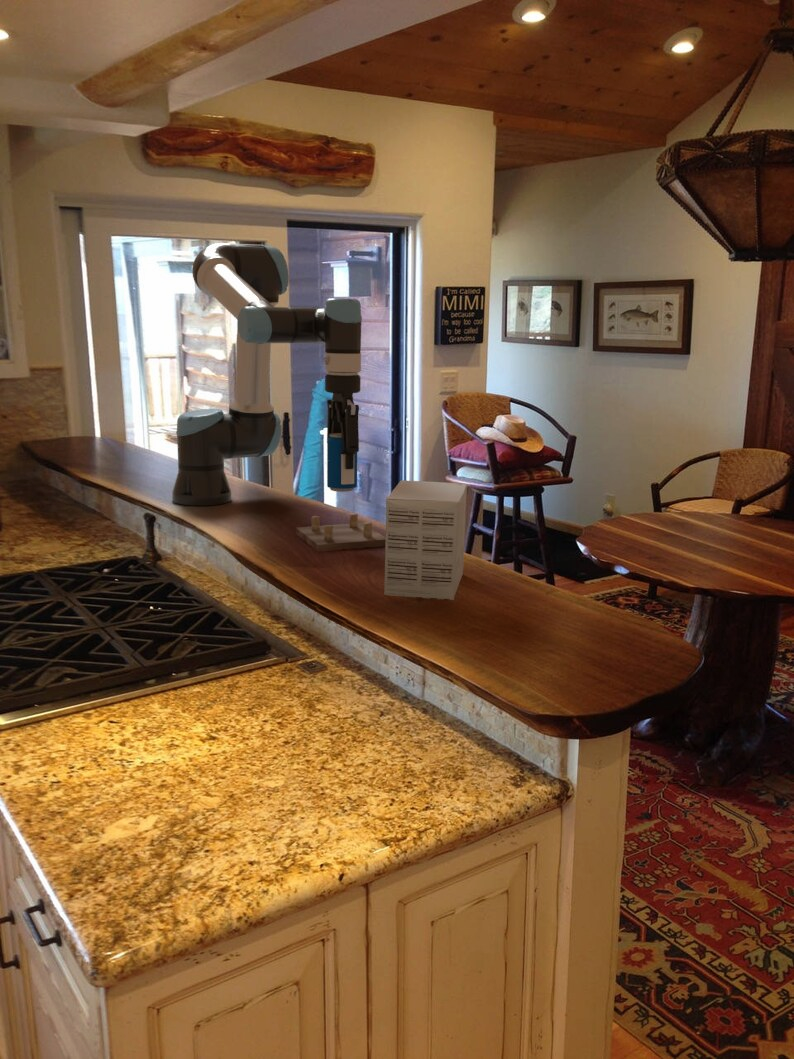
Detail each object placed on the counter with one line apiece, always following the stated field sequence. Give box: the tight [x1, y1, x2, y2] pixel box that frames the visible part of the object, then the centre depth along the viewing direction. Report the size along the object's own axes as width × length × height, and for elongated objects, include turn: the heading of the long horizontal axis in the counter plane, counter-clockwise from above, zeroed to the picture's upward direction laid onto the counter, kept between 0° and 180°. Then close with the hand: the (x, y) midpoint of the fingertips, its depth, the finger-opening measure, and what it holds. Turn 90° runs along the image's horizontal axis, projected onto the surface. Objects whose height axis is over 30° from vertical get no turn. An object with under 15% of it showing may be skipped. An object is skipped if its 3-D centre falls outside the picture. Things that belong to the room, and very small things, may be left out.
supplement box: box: [383, 479, 468, 601], centre depth 168 cm, size 17×13×18 cm
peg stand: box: [295, 512, 386, 553], centre depth 201 cm, size 16×16×4 cm
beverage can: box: [326, 433, 358, 493], centre depth 197 cm, size 6×6×12 cm
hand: (342, 480), depth 198 cm, fingers closed on beverage can, 6 cm apart
